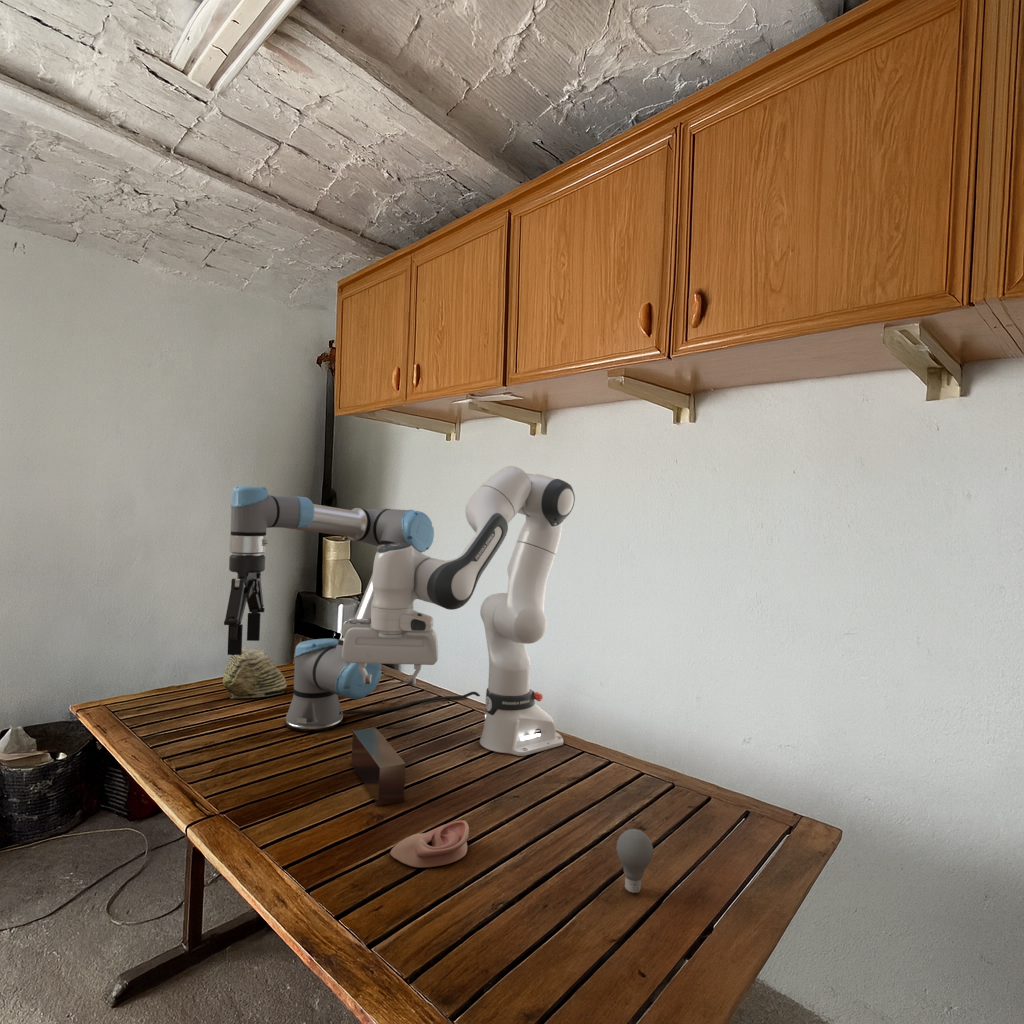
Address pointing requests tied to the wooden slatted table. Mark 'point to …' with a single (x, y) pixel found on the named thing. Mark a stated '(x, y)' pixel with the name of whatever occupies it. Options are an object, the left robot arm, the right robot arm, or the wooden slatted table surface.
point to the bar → (378, 766)
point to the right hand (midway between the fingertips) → (389, 683)
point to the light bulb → (634, 857)
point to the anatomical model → (434, 846)
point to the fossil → (253, 675)
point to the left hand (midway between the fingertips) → (244, 647)
